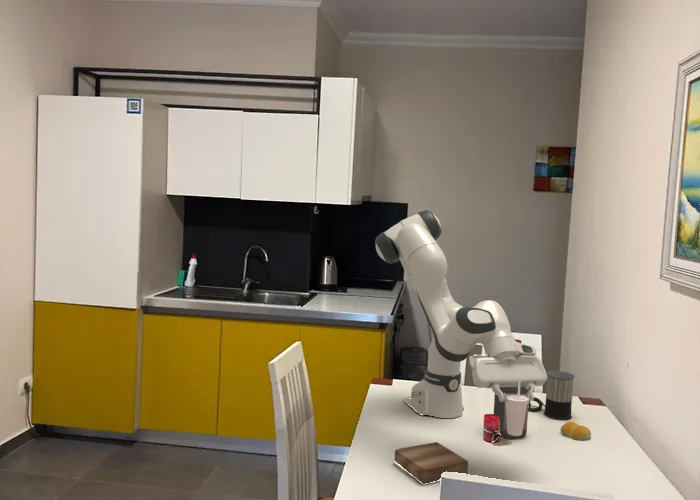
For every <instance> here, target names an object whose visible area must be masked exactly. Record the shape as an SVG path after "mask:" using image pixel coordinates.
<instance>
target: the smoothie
mask: <svg viewBox="0 0 700 500" xmlns="http://www.w3.org/2000/svg"><path fill="white" fill-rule="evenodd" d="M520 383H521V381H518V394H506V396H507V400H506V402H505V407H506V421H507V433H508V434H510V435H513V436H520V435H522V431H523V425H524V420H525V415H526V409H527V404H528V403H529V398H528V397H526V396H524V395H520Z"/></svg>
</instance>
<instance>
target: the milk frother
mask: <svg viewBox="0 0 700 500" xmlns="http://www.w3.org/2000/svg"><path fill="white" fill-rule="evenodd" d="M546 373H547V380H546V390H545V396H546V397H545V403H544V402H543V401H542V400H541V399H540V398H537V397H535V396H534V399H533V402H536V403H537V404H538V406H537V407H532V403H531V401H529V405H528V412H539V411H541V410H542V409H543V407H544V411H543V415H544V416H545V417H548V418H549V419H552V420H557V421H568V420H571V419H572V406H573V405H572V404H573V389H574V378H575V375H574V374H573V373H570V372H568V371H562V370H548V371H546Z"/></svg>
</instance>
